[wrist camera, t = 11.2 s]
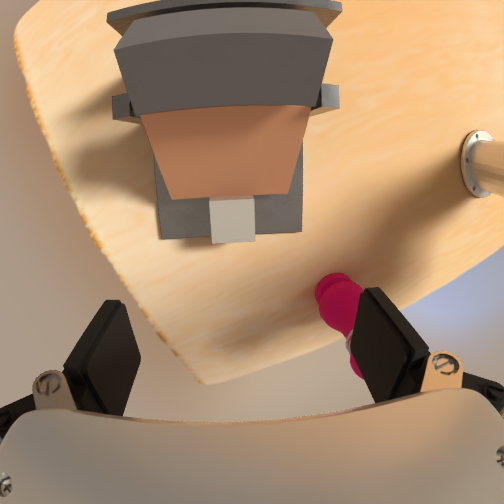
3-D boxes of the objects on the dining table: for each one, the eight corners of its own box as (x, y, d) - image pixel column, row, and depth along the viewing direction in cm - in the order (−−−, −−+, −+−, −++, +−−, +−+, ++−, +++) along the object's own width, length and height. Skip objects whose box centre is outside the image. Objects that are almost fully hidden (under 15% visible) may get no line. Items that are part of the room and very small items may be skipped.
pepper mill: (330, 261, 41) (394, 347, 23) (362, 281, 43) (428, 363, 25) (303, 298, 43) (345, 396, 25) (336, 315, 45) (385, 406, 27)
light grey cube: (254, 198, 31) (255, 241, 33) (251, 191, 36) (252, 228, 38) (209, 201, 31) (212, 243, 33) (211, 193, 36) (214, 230, 37)
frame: (298, 51, 30) (341, 2, 15) (300, 229, 39) (341, 284, 24) (153, 58, 29) (107, 12, 14) (163, 237, 38) (127, 295, 23)
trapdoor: (320, 12, 14) (341, 40, 13) (284, 173, 35) (290, 208, 33) (127, 21, 14) (106, 51, 12) (173, 179, 34) (170, 214, 32)
